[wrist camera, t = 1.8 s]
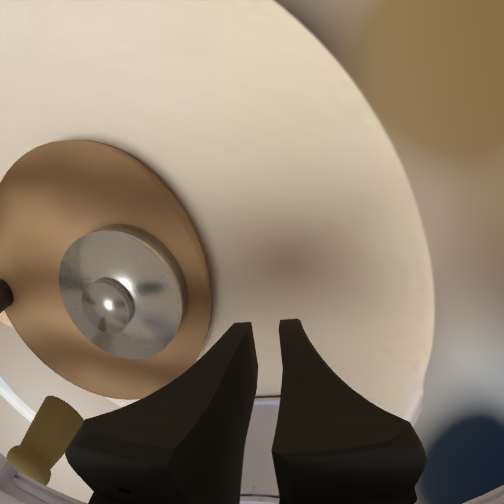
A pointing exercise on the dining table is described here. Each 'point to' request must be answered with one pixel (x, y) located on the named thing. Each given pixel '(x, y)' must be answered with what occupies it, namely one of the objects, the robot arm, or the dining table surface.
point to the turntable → (71, 229)
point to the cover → (123, 290)
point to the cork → (46, 439)
